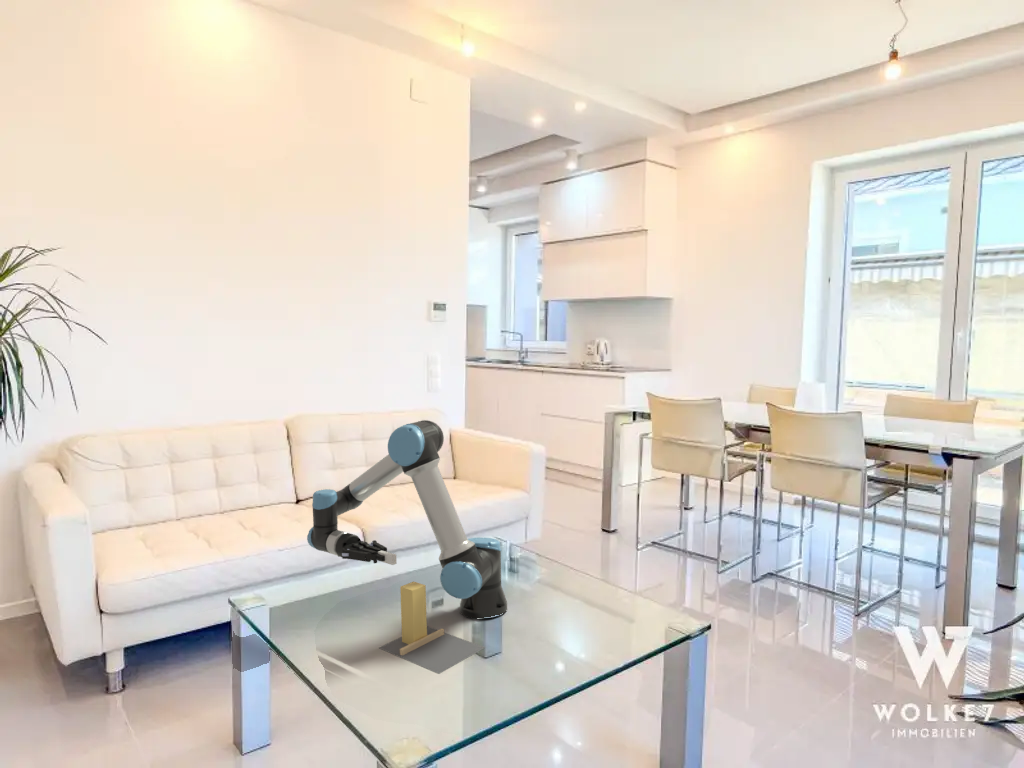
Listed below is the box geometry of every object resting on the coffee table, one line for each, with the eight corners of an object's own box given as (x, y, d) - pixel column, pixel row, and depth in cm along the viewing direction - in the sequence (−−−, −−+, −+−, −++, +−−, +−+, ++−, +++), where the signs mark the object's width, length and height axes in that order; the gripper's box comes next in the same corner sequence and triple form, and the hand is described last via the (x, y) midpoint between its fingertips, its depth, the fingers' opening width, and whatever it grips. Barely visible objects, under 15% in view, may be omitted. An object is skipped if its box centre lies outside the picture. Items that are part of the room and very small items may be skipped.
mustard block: (402, 641, 185) (400, 586, 184) (415, 635, 189) (413, 581, 188) (414, 646, 182) (412, 590, 181) (427, 640, 186) (425, 585, 185)
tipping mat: (378, 650, 182) (378, 642, 182) (425, 628, 196) (425, 620, 196) (439, 676, 167) (438, 668, 166) (485, 650, 181) (485, 642, 180)
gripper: (361, 551, 209) (411, 566, 194) (327, 562, 199) (377, 579, 184) (360, 528, 208) (411, 541, 194) (326, 538, 198) (376, 552, 184)
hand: (394, 559), depth 189 cm, fingers closed
